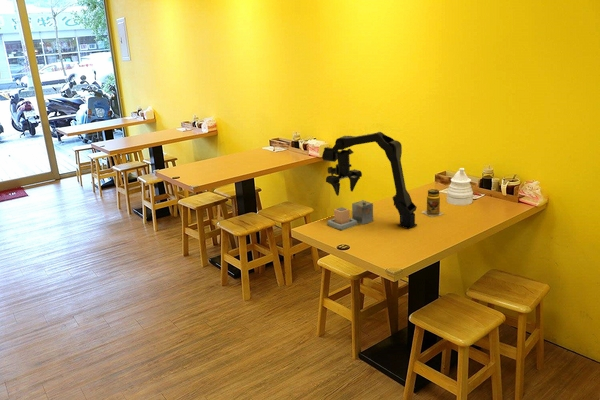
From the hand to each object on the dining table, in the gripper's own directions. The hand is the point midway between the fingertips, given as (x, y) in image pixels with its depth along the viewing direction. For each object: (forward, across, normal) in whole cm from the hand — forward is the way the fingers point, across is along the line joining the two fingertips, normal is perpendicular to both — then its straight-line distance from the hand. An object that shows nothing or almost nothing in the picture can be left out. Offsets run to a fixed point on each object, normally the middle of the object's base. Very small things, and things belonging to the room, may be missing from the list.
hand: (344, 193), depth 249 cm
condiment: (+12, -33, +27) cm, 44 cm away
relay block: (+11, +9, +8) cm, 16 cm away
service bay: (+12, +9, +8) cm, 17 cm away
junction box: (+12, -2, +11) cm, 16 cm away
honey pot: (+12, -57, +25) cm, 63 cm away
